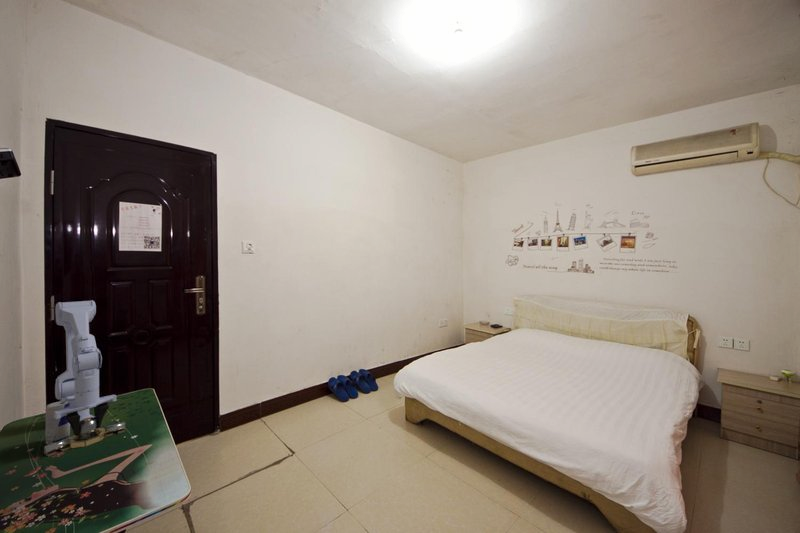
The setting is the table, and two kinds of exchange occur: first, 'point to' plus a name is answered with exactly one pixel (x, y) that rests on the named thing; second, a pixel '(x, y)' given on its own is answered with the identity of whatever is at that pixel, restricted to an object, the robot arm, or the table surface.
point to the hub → (87, 428)
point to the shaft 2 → (115, 428)
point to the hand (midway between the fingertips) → (87, 431)
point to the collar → (87, 442)
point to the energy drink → (56, 423)
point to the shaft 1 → (57, 447)
